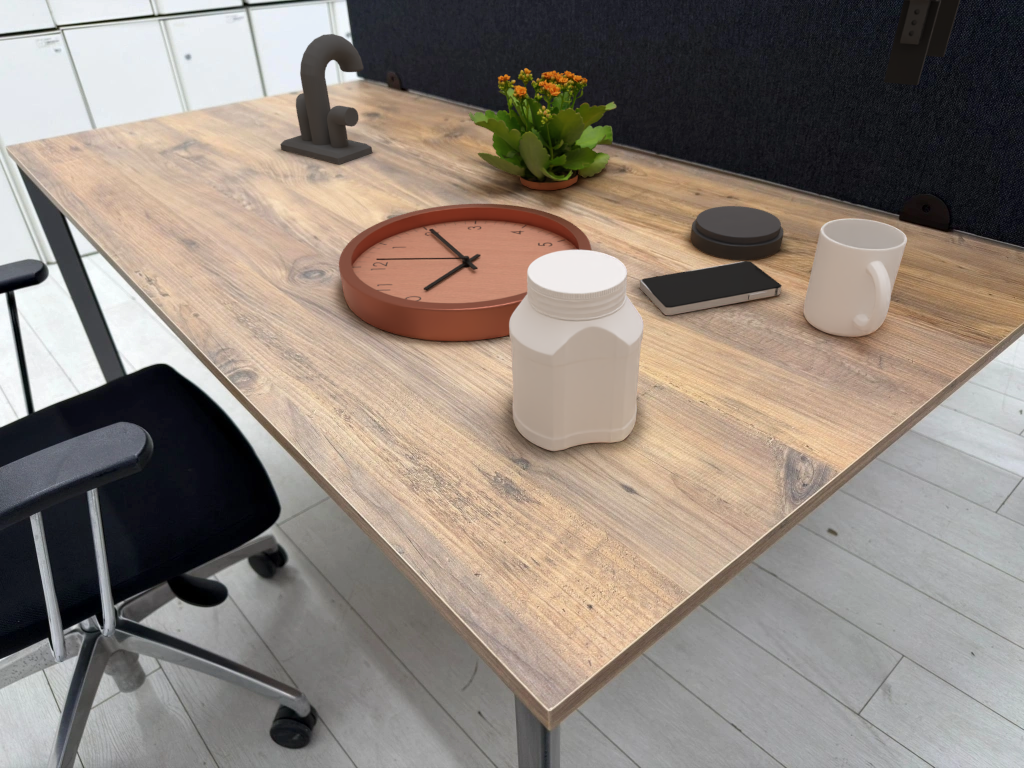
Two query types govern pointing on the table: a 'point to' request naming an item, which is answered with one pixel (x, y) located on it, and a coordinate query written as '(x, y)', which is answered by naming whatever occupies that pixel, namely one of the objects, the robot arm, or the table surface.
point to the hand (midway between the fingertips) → (915, 68)
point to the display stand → (737, 233)
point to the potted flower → (546, 132)
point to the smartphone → (709, 287)
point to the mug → (853, 276)
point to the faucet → (325, 105)
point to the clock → (450, 268)
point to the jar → (575, 351)
